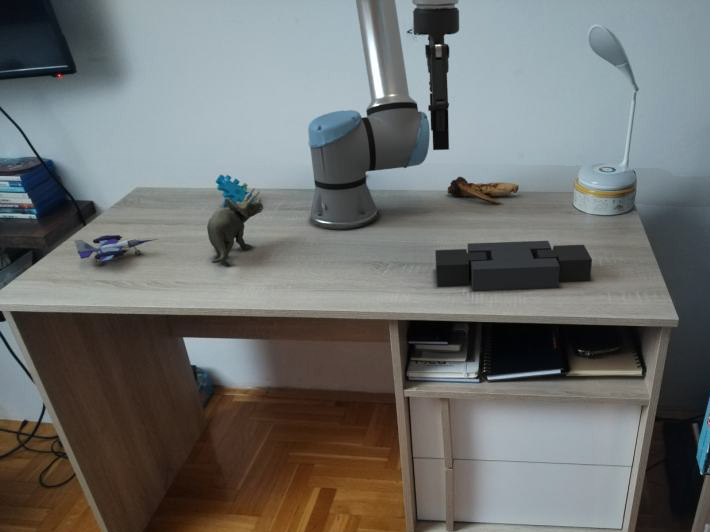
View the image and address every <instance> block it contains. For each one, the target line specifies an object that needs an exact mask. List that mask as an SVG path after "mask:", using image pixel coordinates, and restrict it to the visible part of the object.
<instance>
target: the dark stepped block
mask: <svg viewBox="0 0 710 532" xmlns="http://www.w3.org/2000/svg"><path fill="white" fill-rule="evenodd" d="M545 258H556V259H557V261H558V263H559V266H560V270H559V283H561V282H562V283H566V282H589V281H591V273H592V264H593V259H592V257H591V255H590V253H589V252H588V250H587V248H586V246H585V244H565V245H561V244H560V245H553V246H552V249H551V250H537V259H545Z"/></svg>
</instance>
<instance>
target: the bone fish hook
mask: <svg viewBox="0 0 710 532" xmlns="http://www.w3.org/2000/svg"><path fill="white" fill-rule="evenodd" d="M519 186H520V185H519V184H517V183H511V182H488V183H474V182H468V181H467V180H466V178H465V177H463V176H458V177H457V178H456V179H453V180H451V181H450V185H449V186H447V194H449V195H451V196H455V198H457V197H465V198H468V197H471V198H476V199H478V200H481V201H484V202H486V203H489V204H493V205H500V204H501V202H500V201H499V200H496V199H495V198H492V197H499V196H500V197H502V196H509V195H512V193H514V194H516V193H518V191H519Z"/></svg>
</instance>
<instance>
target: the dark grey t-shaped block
mask: <svg viewBox="0 0 710 532" xmlns="http://www.w3.org/2000/svg"><path fill="white" fill-rule="evenodd" d="M434 251H435V252H434V253H435V276H436V286H437V287H460V286H461V287H464V286H465V287H466V286H470V282H471V261H487V257H486V253H485V252H473V253H468V249H467V248H460V249H459V248H458V249H457V248H455V249H435V250H434Z"/></svg>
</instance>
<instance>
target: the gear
mask: <svg viewBox="0 0 710 532" xmlns="http://www.w3.org/2000/svg"><path fill="white" fill-rule="evenodd" d="M214 182H215V184H218V185H217V186H216V189H217V190H218V191H221V192H222V193H221V194H222V197H223V198H225V199H226V198H228V199H230V200H231V201H232V202H234V203H236V204H237V203H241V202H242V201H243V200H244V198H245V196H246V195H247V194H248V193H250V192H251V191H247V190H248V186H249V185H248V184H247V183H246V182H244V183H243V184H242V185H240V183H241V182H240V180H239V179H238V178H234V180H233V181H232V176H230V175H229V174H226V175H225V176H224V175H223V174H220V175H218V177H217V178H216V180H214ZM252 196H253V193H252V194H251V195H250V197H249V199H250V198H251V197H252ZM249 199H248V200H249ZM254 202H255V199H254V200H253V201H252V203H254ZM221 205H222V206H223V207H227V205H226V203H225V201H223V202H222V203H221Z"/></svg>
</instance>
